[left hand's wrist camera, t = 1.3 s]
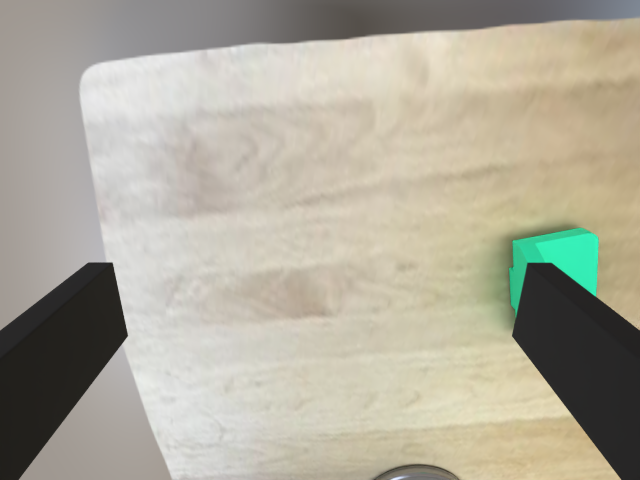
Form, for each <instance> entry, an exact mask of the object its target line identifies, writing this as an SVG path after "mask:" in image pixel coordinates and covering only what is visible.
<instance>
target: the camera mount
mask: <svg viewBox="0 0 640 480" xmlns="http://www.w3.org/2000/svg"><path fill="white" fill-rule="evenodd" d="M512 242H513V267H512V268H509V275H510V297H511V306H512V307H513V308H514V309H515V316H516V315H517V310H518V305H519V300H520V296H521V291H522V286H523V281H524V277H525V272H526V267H527V263H553V264H554V265H555V266H557V267H558V268H559V269H561V270H562V271H563V272H565V273H566V274H567V275H568V276H570V277H571V278H572V279H574V280H575V281H576V282H577V283H579V284H580V285H581V286H583V287H584V288H585V289H587V290H588V291H589V292H590V293H592V294H593V295H594V296H596V288H597V265H598V243H599V240H598V237H597V236H596V235H595V234H593V233H591V232H589V231H588V230H586V229H584V228H576V229H571V230H566V231H561V232H555V233H550V234H545V235H540V236H535V237H529V238H524V239H519V240H514V241H512Z"/></svg>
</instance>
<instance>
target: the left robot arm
mask: <svg viewBox="0 0 640 480" xmlns="http://www.w3.org/2000/svg"><path fill="white" fill-rule="evenodd" d="M127 337H128V334H127V329H126V324H125V320H124V315H123V310H122V305H121V300H120V296H119V291H118V286H117V281H116V277H115V272H114V267H113V263H87V264H86V265H85V266H83V267H82V268H81V269H79V270H78V271H77V272H75V273H74V274H73V275H72V276H70V277H69V278H68V279H66V280H65V281H64V282H63V283H61V284H60V285H59V286H57V287H56V288H55V289H53V290H52V291H51V292H50V293H48V294H47V295H46V296H44V297H43V298H42V299H41V300H39V301H38V302H37V303H35V304H34V305H33V306H31V307H30V308H29V309H28V310H26V311H25V312H24V313H22V314H21V315H20V316H19V317H17V318H16V319H15V320H13V321H12V322H11V323H9V324H8V325H7V326H6V327H4V328H3V329H2V330H0V480H19V478H20V477H21V476H22V474H23V473H24V472H25V471H26V469H27V468H28V467H29V465H30V464H31V463H32V461H33V460H34V459H35V457H36V456H37V455H38V453H39V452H40V451H41V450H42V448H43V447H44V446H45V444H46V443H47V442H48V440H49V439H50V438H51V436H52V435H53V434H54V432H55V431H56V430H57V429H58V427H59V426H60V425H61V423H62V422H63V421H64V419H65V418H66V417H67V415H68V414H69V413H70V411H71V410H72V409H73V408H74V406H75V405H76V404H77V402H78V401H79V400H80V398H81V397H82V396H83V394H84V393H85V392H86V390H87V389H88V388H89V386H90V385H91V384H92V382H93V381H94V380H95V379H96V377H97V376H98V375H99V373H100V372H101V371H102V369H103V368H104V367H105V365H106V364H107V363H108V362H109V360H110V359H111V358H112V356H113V355H114V354H115V352H116V351H117V350H118V348H119V347H120V346H121V344H122V343H123V342H124V341H125V339H126V338H127ZM512 337H513V338H514V339H515V341H516V342H517V343H518V344H519V346H520V347H521V348H522V350H523V351H524V352H525V354H526V355H527V356H528V358H529V359H530V360H531V362H532V363H533V364H534V365H535V367H536V368H537V369H538V371H539V372H540V373H541V375H542V376H543V377H544V379H545V380H546V381H547V383H548V384H549V385H550V386H551V388H552V389H553V390H554V392H555V393H556V394H557V396H558V397H559V398H560V400H561V401H562V402H563V404H564V405H565V406H566V408H567V409H568V410H569V411H570V413H571V414H572V415H573V417H574V418H575V419H576V421H577V422H578V423H579V425H580V426H581V427H582V429H583V430H584V431H585V432H586V434H587V435H588V436H589V438H590V439H591V440H592V442H593V443H594V444H595V446H596V447H597V448H598V450H599V451H600V452H601V453H602V455H603V456H604V457H605V459H606V460H607V461H608V463H609V464H610V465H611V467H612V468H613V469H614V471H615V472H616V473H617V475H618V476H619V477H620V478H621V480H640V330H638V329H637V328H636V327H634V326H633V325H632V324H631V323H629V322H628V321H627V320H625V319H624V318H623V317H621V316H620V315H619V314H618V313H616V312H615V311H614V310H612V309H611V308H610V307H609V306H607V305H606V304H605V303H603V302H602V301H601V300H599V299H598V298H597V297H596V296H594V295H593V294H592V293H590V292H589V291H588V290H587V289H585V288H584V287H583V286H581V285H580V284H579V283H577V282H576V281H575V280H574V279H572V278H571V277H570V276H568V275H567V274H566V273H565V272H563V271H562V270H561V269H559V268H558V267H557V266H555V265H554V264H553V263H527V267H526V272H525V277H524V281H523V286H522V291H521V296H520V300H519V305H518V310H517V315H516V320H515V324H514V329H513V334H512ZM375 480H459V479H458V478H457V477H455V476H454V475H453V474H451V473H449V472H447V471H445V470H442V469H439V468H436V467H431V466H419V465H418V466H406V467H401V468H397V469H394V470H391V471H389V472H386V473H384V474H382V475H381V476H379V477H377V478H376V479H375Z"/></svg>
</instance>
